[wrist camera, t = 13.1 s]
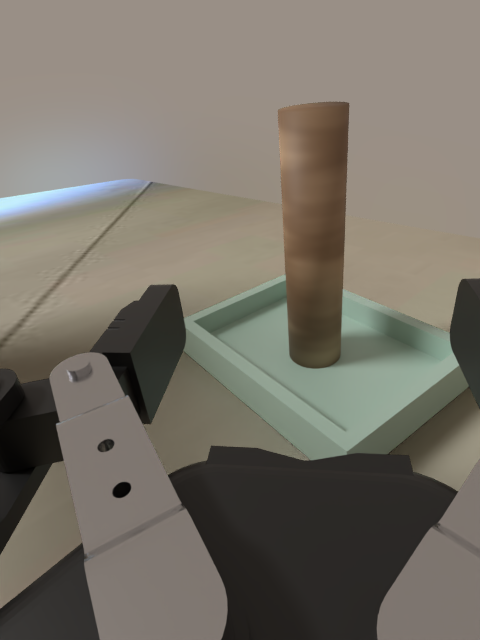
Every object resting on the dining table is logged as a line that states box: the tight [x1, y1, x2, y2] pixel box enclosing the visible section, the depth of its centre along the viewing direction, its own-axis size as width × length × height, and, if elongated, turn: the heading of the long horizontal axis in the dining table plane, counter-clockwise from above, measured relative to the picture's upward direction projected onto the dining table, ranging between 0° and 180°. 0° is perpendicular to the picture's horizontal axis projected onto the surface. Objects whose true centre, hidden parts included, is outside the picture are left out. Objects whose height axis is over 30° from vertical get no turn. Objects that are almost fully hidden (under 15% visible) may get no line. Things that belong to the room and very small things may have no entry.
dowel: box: [278, 102, 349, 369], centre depth 23 cm, size 3×3×14 cm
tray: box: [183, 274, 469, 460], centre depth 26 cm, size 15×11×2 cm
